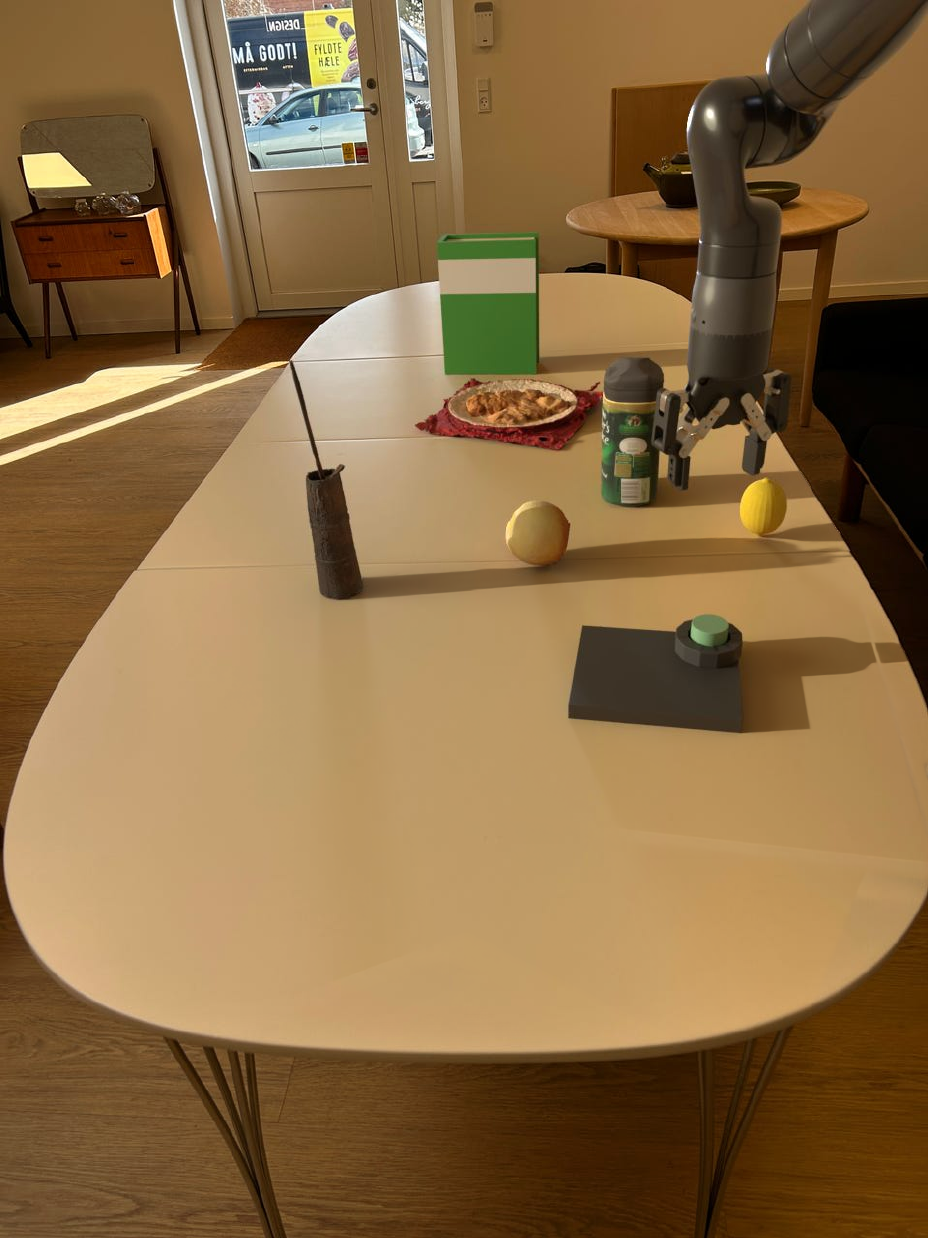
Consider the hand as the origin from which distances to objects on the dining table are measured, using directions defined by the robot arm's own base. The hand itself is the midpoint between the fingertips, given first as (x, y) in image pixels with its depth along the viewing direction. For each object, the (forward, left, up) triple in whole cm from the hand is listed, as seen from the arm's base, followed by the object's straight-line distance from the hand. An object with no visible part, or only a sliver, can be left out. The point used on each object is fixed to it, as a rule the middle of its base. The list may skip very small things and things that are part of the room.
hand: (715, 480), depth 96 cm
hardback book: (+39, -85, -16) cm, 94 cm away
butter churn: (+42, -1, -16) cm, 45 cm away
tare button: (0, +10, -13) cm, 16 cm away
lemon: (-7, -19, -16) cm, 26 cm away
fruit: (+20, -9, -16) cm, 27 cm away
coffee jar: (+10, -30, -16) cm, 35 cm away
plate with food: (+31, -59, -16) cm, 68 cm away
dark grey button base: (+5, +14, -16) cm, 22 cm away
